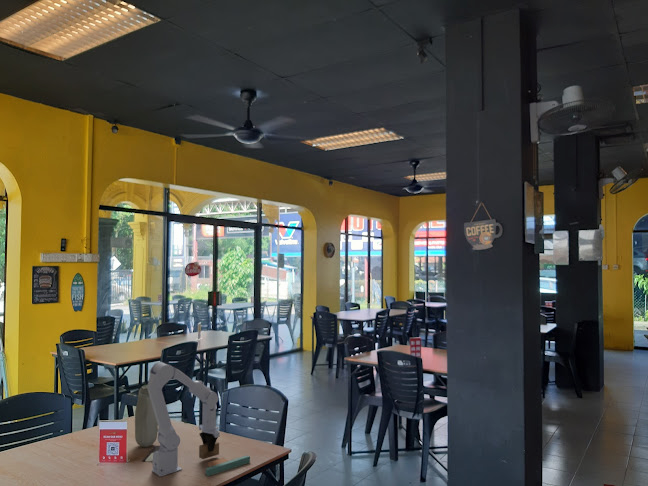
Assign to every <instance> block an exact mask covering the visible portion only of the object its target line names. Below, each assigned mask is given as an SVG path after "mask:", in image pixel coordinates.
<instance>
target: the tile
mask: <svg viewBox="0 0 648 486" xmlns="http://www.w3.org/2000/svg"><path fill="white" fill-rule="evenodd" d="M227 461H229V459H226V458H224V457H221V458H217V459H215V460H212V461H208V463H207V465H208V467H211V466H215V465H218V464H221V463H224V462H227Z"/></svg>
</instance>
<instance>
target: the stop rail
mask: <svg viewBox="0 0 648 486" xmlns="http://www.w3.org/2000/svg"><path fill="white" fill-rule="evenodd" d="M249 463H251V457H250V455H244V456H241V457H236V458H235V459H231V460H228V461H227V462H224V463H221V464H218V465H215V466H211V467H209V466H208V467H205V475H206V476H207V477H211V476H213V475H217V474H219V473H222V472H226V471H228V470H231V469H234V468H236V467H237V468H238V467H241V466H243V465H246V464H249Z"/></svg>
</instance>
